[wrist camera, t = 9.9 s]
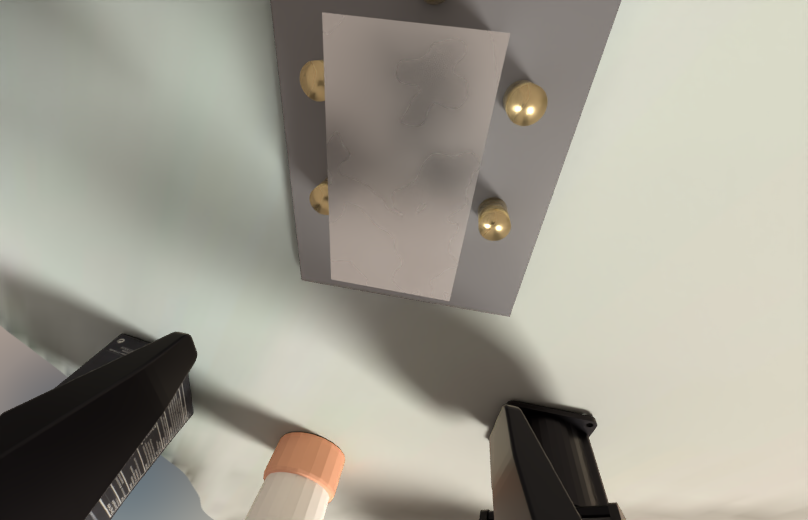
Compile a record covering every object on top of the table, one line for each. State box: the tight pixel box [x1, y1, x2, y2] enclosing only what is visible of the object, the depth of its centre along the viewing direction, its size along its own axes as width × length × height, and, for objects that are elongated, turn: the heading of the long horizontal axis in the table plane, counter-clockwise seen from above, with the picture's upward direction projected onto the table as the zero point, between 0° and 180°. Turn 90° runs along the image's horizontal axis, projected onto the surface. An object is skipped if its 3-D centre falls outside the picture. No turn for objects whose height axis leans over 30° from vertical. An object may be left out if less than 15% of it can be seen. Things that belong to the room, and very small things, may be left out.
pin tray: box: [270, 0, 621, 317], centre depth 15 cm, size 13×18×3 cm
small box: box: [55, 334, 193, 520], centre depth 28 cm, size 11×6×10 cm, turn 163°
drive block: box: [322, 12, 510, 301], centre depth 13 cm, size 5×9×5 cm, turn 175°
